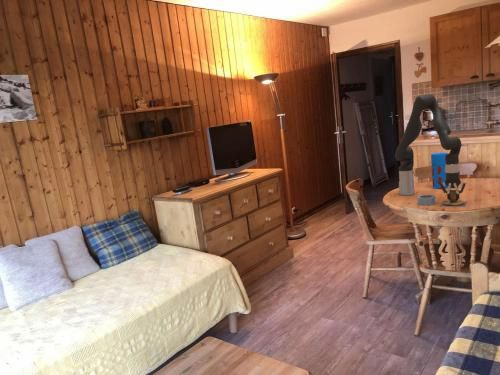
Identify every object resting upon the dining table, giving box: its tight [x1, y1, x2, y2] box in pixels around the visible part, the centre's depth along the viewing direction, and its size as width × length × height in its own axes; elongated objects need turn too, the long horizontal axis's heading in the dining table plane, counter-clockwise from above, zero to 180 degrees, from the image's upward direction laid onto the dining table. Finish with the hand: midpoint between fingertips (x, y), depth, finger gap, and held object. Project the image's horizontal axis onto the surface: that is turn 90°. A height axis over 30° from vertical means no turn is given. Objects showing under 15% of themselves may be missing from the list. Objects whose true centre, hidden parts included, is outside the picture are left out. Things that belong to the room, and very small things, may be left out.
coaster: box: [439, 201, 468, 208], centre depth 229 cm, size 13×13×1 cm
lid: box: [442, 189, 465, 206], centre depth 228 cm, size 11×11×8 cm
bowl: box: [416, 194, 437, 207], centre depth 237 cm, size 10×10×5 cm
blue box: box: [430, 152, 449, 190], centre depth 276 cm, size 11×11×25 cm
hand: (453, 199), depth 229 cm, fingers closed on lid, 3 cm apart
